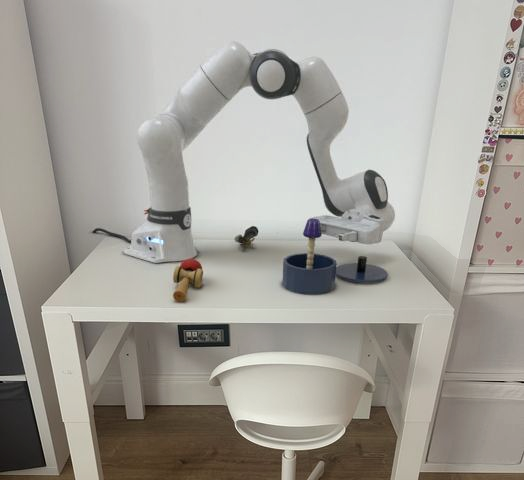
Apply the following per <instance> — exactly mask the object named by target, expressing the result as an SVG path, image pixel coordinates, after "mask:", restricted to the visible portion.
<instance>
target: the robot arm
mask: <svg viewBox="0 0 524 480" xmlns="http://www.w3.org/2000/svg"><path fill="white" fill-rule="evenodd" d="M248 87H252V89H253V90H254V92H255V93H256V94H257V95H258V96H259V97H261V98H263V99H265V100H279V99H281V98H284V97H289V96H292V97H293V98H294V99H295V101H297V103H298V105H299V107H300V109H301V111H302V113H303V116H304V117H305V120H306V123H307V128H308V133H307V135H306V145H307V150H308V153H309V157H310V160H311V162H312V166H313V168H314V171H315V174H316V177H317V180H318V183H319V185H320V188H321V193H322V198H323V203H324V207H325V208H326V210H327V211H328V212H329V213H331V214H332V215H325V214H323V215H317V216H311V217H309V219H311V218H313V219H318V220H319V221H320V227H321V233H322V235H325V236H329V237H334V238H338V241H340V242H350V243H359V244H363V245H374V244H379V243H381V242H382V240H383V235H384V232H386V231H387V230H388V229H390V227H391V226H392V225H393V223H394V221H395V219H396V213H395V209H394V207H393V205H392V204H391V203H390V202H389V201H388V200H389V191H388V186H387V183H386V181H385V179H384V178H383V177H382V175H381V174H379V172H377V171H376V170H374V169H367V170H364V171H361V172H359V173H356V174H354V175H352V176H348V177H346V178H343V179H341V178H339V177H338V175H337V172H336V167H335V165H334V162H333V159H332V156H331V147H332V143H333V142H334V140H335V139H336V138H337V137H338V136H339V134H340V133H341V132H342V131H343V129H344V128H345V126H346V124H347V122H348V119H349V113H350V110H349V106H348V102H347V100H346V97H345V95H344V93H343V91H342V88H341V87H340V85H339V83H338V81H337V79H336V77H335V75H334V74H333V72H332V71H331V69H330V67H328V65H327V64H326V62H325V60H323V58H321V57H319V56H309V57H305V58H304V59H302V60H300V61H298V62H296V61H294V60H293V59H291V58H290V57H289V56H288V54H286V53H285V52H284V51H282V50H280V49H276V48H267V49H265V50H263V51H261V52H256V53H251V52H250V51H249V50H248V49H247V48H246V47H245V46H244V45H242V43H240V42H238V41H235V40H229V41H227V42H225V43H224V44H222V45H221V46H220V47H218V48H217V49H216V50H214V51H213V52H212V53H211V54H210V55H209V56H207V58H206V59H205V60H203V62H202V63H201V64H200V65H199V66H198V67H197V68H196V69H195V70H194V71H193V73H192V74H191V75H190V76H189V77H188V78H187V79H186V80H185V81H184V82H183V84H182V85H181V86H179V88H178V90H177V91H176V93H175V95H174V96H173V97H172V99H171V100H170V102H169V103H168V104H167V105H166V107H165V108H164V109H163V110H162V111H161V112H160V113H158V114H156V115H151V116H148V117H147V118H145V120H143V122H142V123H141V124H140V126H139V127H138V130H137V133H136V142H137V145H138V148H139V150H140V151H141V155H142V160H143V164H144V168H145V171H146V175H147V181H148V188H149V199H150V207H149V208H148V209H145V210H143V215H147V218H146V220H145V221H144V222H142V224H140V226H138V227H137V228H136V229H134V231H132V233H131V236H130V239H129V238H128V237H126V235H125V236H124V235H122V234H119V233H115V232H111V231H109V230H106V229H104V228H102V227H97V228H95V229H93V230H92V232H91V233H92V234H95V233H97V232H102V233H104V234H107V235H110V236H113V237H117V238H120V239H123V240H124V241H125V242H127V243H129V244H130V245H129V246H127V247H125V248H124V249H123V254H125V255H127V256H131V257H133V258H137V259H141V260H144V261H147V262H151V263H154V264H161V263H166V262H169V263H170V262H181V261H182V262H183V261H184V260H186V259H190V258H192V259H194V258H195V257H196V256H198V252H197V249H196V245H195V242H194V238H193V233H192V207H191V206H190V195H189V179H188V176H187V173H186V169H185V163H184V157H183V152H184V151H185V150H186V149H187V148H188V147H189V146H190V145H191V143H193V142H194V140H195V139H196V138H197V137H198V136H199V135H200V134H201V133H202V131H203V130H204V129H205V128H206V127H207V125H208V124H209V123H210V122H211V121H212V120H213V119H214V118H215V117H216V116H217V115H218V114H219V113H220V112H221V111H222V109H224V108H225V107H226V106H227V105H228V104H229V103H230V102H231V101H232V100H233V99H234V98H235V96H237V94H238V93H240V91H242V90H243V89H245V88H248ZM333 215H334V216H333Z"/></svg>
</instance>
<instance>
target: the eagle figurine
mask: <svg viewBox="0 0 524 480" xmlns="http://www.w3.org/2000/svg"><path fill="white" fill-rule="evenodd" d="M259 233H260V232H259V229H258V227H257V226H255V225H251V226H250V227H248V228H247V229H245V230H244V234H243V235H242V234H238V235H236V236H234V242H235V243H239V245H240V246H243V247H242V252H244V251H245V250H246V249H247V248H248V247H250V248H251V249H254V248H255V247H254V244H253V242H254V241H255V239H256V238H255V237H257V236H258V235H259Z"/></svg>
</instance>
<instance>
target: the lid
mask: <svg viewBox="0 0 524 480" xmlns="http://www.w3.org/2000/svg"><path fill="white" fill-rule="evenodd" d="M367 261H368V257H367V256H364V255H359V256H358V257H357V262H349V263H342V264H339V265H337V266H336V276H337V277H338V278H340V279H343V280H345V281H350V282H353V283H366V284H367V283H378V282H382V281H384V280H387V278H388V275H389V273H388V271H387V270H386V269H385V268H383V267H380V266H378V265H375V264H370V263H367Z"/></svg>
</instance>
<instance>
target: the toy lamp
mask: <svg viewBox="0 0 524 480" xmlns="http://www.w3.org/2000/svg"><path fill="white" fill-rule="evenodd" d="M310 218H311V217H310ZM310 218H308V219H307V220H306V224H305V226H304V228H303V232H302V235H303V237H305V238H308V243H307V247H308V248H307V253H308V255H307V266H306V269H313V266H312V265H313V258H314V254H315V246H316V243H315V241H316V239H320V238H321V237H322V235H323V234H322V233H321V227H320V221H319V220H318V219H313V218H311V219H310Z"/></svg>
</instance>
